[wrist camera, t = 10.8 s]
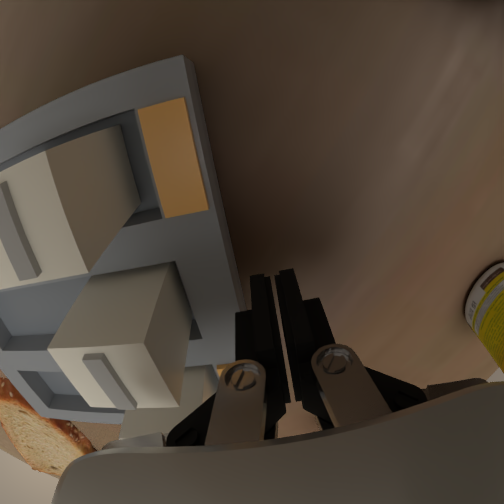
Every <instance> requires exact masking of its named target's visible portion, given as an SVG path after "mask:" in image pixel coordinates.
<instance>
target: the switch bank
mask: <svg viewBox="0 0 504 504" xmlns="http://www.w3.org/2000/svg"><path fill="white" fill-rule="evenodd" d="M119 124H120V126H121V130H122V134H123V138H124V142H125V146H126V150H127V154H128V158H129V162H130V165H131V169H132V173H133V176H134V180H135V184H136V187H137V191H138V194H139V197H140V201H141V204H140V205H139V206H138V208H137V209H136V210H135V211H134V213H133V214H132V215H131V216H130V218H129V219H128V220H127V221H126V223H125V224H124V225H123V227H122V228H121V229H120V231H119V232H118V233H117V235H116V236H115V237H114V239H113V240H112V241H111V243H110V244H109V245H108V247H107V248H106V249H105V251H104V252H103V253H102V255H101V256H100V258H99V259H98V260H97V262H96V263H95V265H94V266H93V268H92V269H91V270H90V272H89V273H86V274H81V275H75V276H70V277H64V278H59V279H54V280H48V281H43V282H37V283H32V284H27V285H22V286H16V287H11V288H6V289H0V369H1V370H2V372H3V373H4V374H5V375H6V377H7V378H8V379H9V380H10V382H11V383H12V384H13V385H14V387H15V388H16V389H17V390H18V391H19V393H20V394H21V395H22V396H23V397H24V398H25V399H26V401H27V402H28V403H29V404H30V405H31V406H32V407H33V408H34V409H35V411H36V412H37V413H38V414H39V415H40V416H41V417H47V418H54V419H62V420H71V421H81V422H92V423H107V424H122V422H123V418H124V414H125V410H118V409H117V408H103V407H90V406H89V404H88V403H87V402H86V401H85V400H84V398H83V397H82V396H81V395H80V393H79V392H78V391H77V390H76V388H75V387H74V386H73V384H72V383H71V382H70V380H69V379H68V378H67V376H66V375H65V374H64V372H63V371H62V370H61V368H60V367H59V365H58V364H57V363H56V361H55V360H54V358H53V357H52V355H51V354H50V353H49V351H48V350H47V348H48V346H49V344H50V342H51V341H52V339H53V337H54V335H55V334H56V332H57V330H58V328H59V327H60V325H61V323H62V322H63V320H64V318H65V317H66V315H67V313H68V312H69V310H70V309H71V307H72V305H73V304H74V302H75V301H76V299H77V297H78V296H79V294H80V293H81V291H82V290H83V288H84V286H85V285H86V283H87V282H88V280H89V279H90V277H91V276H93V275H99V274H104V273H110V272H116V271H121V270H127V269H133V268H138V267H144V266H150V265H155V264H161V263H167V262H172V261H175V264H176V267H177V270H178V273H179V276H180V279H181V282H182V285H183V288H184V291H185V294H186V296H187V299H188V302H189V305H190V308H191V311H192V314H193V318H192V324H191V330H190V336H189V343H188V349H187V356H186V363H185V367H191V366H201V365H210V364H212V367H213V369H214V372H215V374H216V377H217V379H218V382H219V378H220V375H221V373H222V371H223V370H224V369H225V368H226V366H228V365H229V364H231V363H233V362H235V313H236V312H240V311H247V309H246V305H245V300H244V296H243V292H242V287H241V283H240V279H239V274H238V270H237V265H236V261H235V257H234V252H233V248H232V243H231V239H230V234H229V230H228V225H227V221H226V216H225V212H224V207H223V202H222V198H221V193H220V188H219V184H218V179H217V175H216V170H215V165H214V160H213V156H212V151H211V146H210V141H209V137H208V132H207V127H206V122H205V117H204V112H203V107H202V102H201V97H200V92H199V87H198V82H197V77H196V72H195V67H194V63H193V62H192V61H191V60H189V59H188V58H187V57H185V56H184V55H179V56H176V57H172V58H168V59H164V60H161V61H157V62H154V63H150V64H147V65H144V66H141V67H137V68H134V69H131V70H128V71H125V72H122V73H119V74H117V75H114V76H111V77H108V78H106V79H103V80H100V81H98V82H95V83H93V84H90V85H88V86H85V87H83V88H80V89H78V90H76V91H73V92H71V93H69V94H67V95H64V96H62V97H60V98H58V99H56V100H54V101H51V102H49V103H47V104H45V105H43V106H41V107H39V108H37V109H35V110H33V111H32V112H30V113H28V114H26V115H24V116H22V117H20V118H19V119H17V120H15V121H13V122H11V123H10V124H8V125H6V126H5V127H3V128H1V129H0V172H1V171H3V170H5V169H7V168H9V167H11V166H13V165H15V164H17V163H19V162H21V161H23V160H26V159H28V158H30V157H32V156H34V155H36V154H39V153H41V152H43V151H46V150H48V149H51V148H53V147H56V146H58V145H61V144H63V143H66V142H69V141H71V140H74V139H77V138H80V137H83V136H85V135H88V134H91V133H94V132H97V131H100V130H103V129H107V128H110V127H113V126H116V125H119Z"/></svg>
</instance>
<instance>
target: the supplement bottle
mask: <svg viewBox="0 0 504 504" xmlns="http://www.w3.org/2000/svg"><path fill="white" fill-rule="evenodd" d="M465 317H466V321H467V323H468V324H469V326H470V327H471V329H472V330H473V331H474V333H475V334H476V335H477V337H478V338H479V339H480V341H481V342H482V343H483V345H484V346H485V347H486V349H487V350H488V352H489V353H490V355H491V356H492V357H493V359H494V360H495V362H496V363H497V365H498V366H499V367H500V368H501V370H502V372H503V373H504V262H503V263H499V264H497V265H495V266H493V267H491V268H490V269H489V270H487V271H486V272H485V273H484V274H483V275H482V276H481V277H480V278H479V279H478V281H477V282H476V284H475V285H474V287H473V288H472V290H471V292H470V294H469V296H468V299H467V302H466V307H465Z"/></svg>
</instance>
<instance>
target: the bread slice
mask: <svg viewBox="0 0 504 504" xmlns="http://www.w3.org/2000/svg"><path fill="white" fill-rule="evenodd" d="M0 421H1V424H2V427H3V428H4V430H5V432H6V434H7V435H8V437H9V439H10V440H11V442H12V443H13V444H14V446H15V447H16V448H17V450H18V452H19V453H20V454H21V455H22V456H23V457H24V459H25V460H26V462H27V463H28V464H29V465H30V466H31V467H32V469H33V470H38V471H39V472H45V473H48V474H56V475H62V473H63V471H64V470H65V468H66V467H67V466H68V465H69V463H71V462H72V461H73V460H75V459H77V458H79V457H81V456H83V455H86V454H89V453H92V452H96V450H95V449H94V448H93V446H92V444H91V442H90V441H89V440H88V439H87V438H86V437H85V435H84V434H83V433H82V432H81V431H80V430H78V429H77V428H76V427H75V426H74V425H73V424H72V423H71V422H70V421H69V420H62V419H54V418H47V417H41V416H40V415H39V414H38V413H37V412H36V411H35V409H34V408H33V407H32V406H31V405H30V404H29V403H28V402H27V401H26V399H25V398H24V397H23V396H22V395H21V394H20V393H19V391H18V390H17V389H16V388H15V387H14V385H13V384H12V383H11V382H10V380H9V379H7V378H0Z"/></svg>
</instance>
